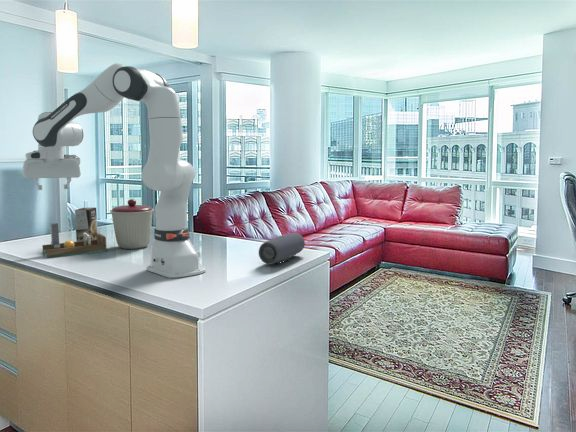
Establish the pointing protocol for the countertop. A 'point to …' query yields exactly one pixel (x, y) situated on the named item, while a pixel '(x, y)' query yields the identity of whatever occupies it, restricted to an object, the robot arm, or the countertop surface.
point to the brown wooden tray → (78, 247)
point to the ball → (69, 244)
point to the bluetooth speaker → (281, 248)
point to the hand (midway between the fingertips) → (53, 189)
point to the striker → (54, 236)
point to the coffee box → (86, 223)
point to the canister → (132, 225)
